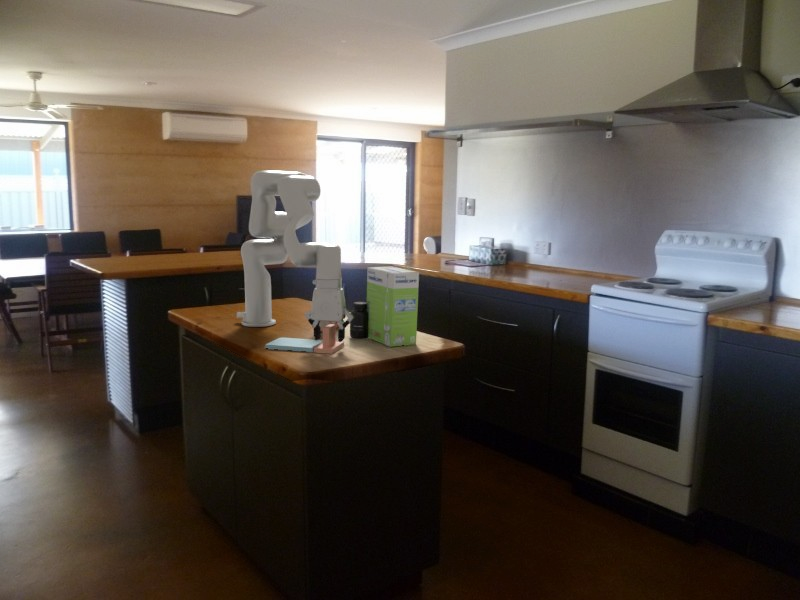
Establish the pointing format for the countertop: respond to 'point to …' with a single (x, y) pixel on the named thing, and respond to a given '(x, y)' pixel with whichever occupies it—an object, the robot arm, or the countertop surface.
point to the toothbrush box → (392, 305)
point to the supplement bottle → (359, 321)
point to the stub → (329, 341)
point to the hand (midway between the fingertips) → (329, 339)
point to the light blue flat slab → (294, 344)
